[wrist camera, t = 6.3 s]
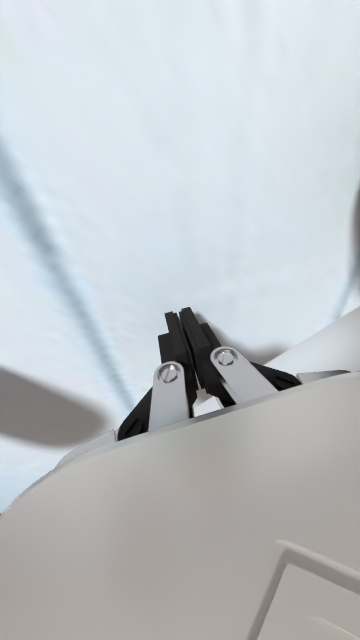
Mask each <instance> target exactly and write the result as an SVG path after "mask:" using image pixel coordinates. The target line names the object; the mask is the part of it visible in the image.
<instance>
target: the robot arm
mask: <svg viewBox="0 0 360 640" xmlns="http://www.w3.org/2000/svg"><path fill="white" fill-rule="evenodd" d="M181 310H182V311H181V312H179V315H180V320H181V324H182V327H181V324H180V321H179V318H178V316H177V313H173V311H172V312H168V313H165V318H166V322H167V326H168V330H169V333H166V334H163V335H159V336H158V341H159V348H160V355H161V362H162V365H160V366H159V367H158V368H157V369H156V371H155V373H154V380H153V386H152V388H151V389H150V390H149V391H148V392H147V394H146V395H145V396H144V397H143V398H142V400H141V401H140V402H139V403H138V405H137V406H136V407H135V408H134V409H133V411H132V412H131V413H130V414H129V415H128V417H127V418H126V419H125V420H124V421H123V423H122V424H121V426H120V428H119V429H117V430H115V431H114V429H112V430H110V431H108V432H106V433H105V434H103V435H101V436H99V437H97V438H95V439H93V440H92V441H90V442H88V443H86V444H84V445H82V446H81V447H79V448H77V449H75V450H73V451H71V452H70V453H68V454H67V455H66V456H64V457H63V458H62V459H61V460H60V462H59V463H58V464H57V466H56V468H54V469H53V470H51V471H50V472H48V473H47V474H45V475H44V476H43V477H41V478H40V479H38V480H37V481H36V482H34V483H33V484H32V485H30V486H29V487H28V488H27V489H25V490H24V491H23V492H22V493H21V494H20V495H19V496H18V497H17V498H16V499H15V500H14V501H13V502H12V503H11V504H10V505H9V506H8V507H7V508H6V509H5V511H4V512H3V513H2V515H1V516H0V640H360V371H358V372H349V371H346V370H335V371H323V372H310V373H298V374H297V375H296V376H293V375H291V374H288V373H286V372H283V371H279V370H275V369H272V368H269V367H266V366H262V365H259V364H255V363H252V362H249V361H248V360H247V359H246V358H245V357H244V356H243V355H242V354H241V353H240V352H239V351H237V350H236V349H234V348H232V347H227V346H225V347H222V346H221V344H220V343H219V341H218V339H217V338H216V336H215V335H214V333H213V331H212V330H211V328H210V327H209V325H208V323H203V324H199V323H198V321H197V319H196V318H195V316H194V314H193V312H192V310H191V308H190V307H187V308H183V309H181ZM194 369H195V370H194ZM195 372H196V375H197V378H198V381H199V384H200V386H201V389H204V388H205V390H206V393H207V394H208V393H209V394H211V395H213V396H215V397H216V400H217V402H218V404H219V405H220V407H221V409H220V410H217V411H213V412H210V413H207V414H204V415H200V416H198V417H194V408H193V404H194V402H195V400H196V399H197V393H196V391H197V390H199V389H198V384H197V379H196V375H195Z"/></svg>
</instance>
